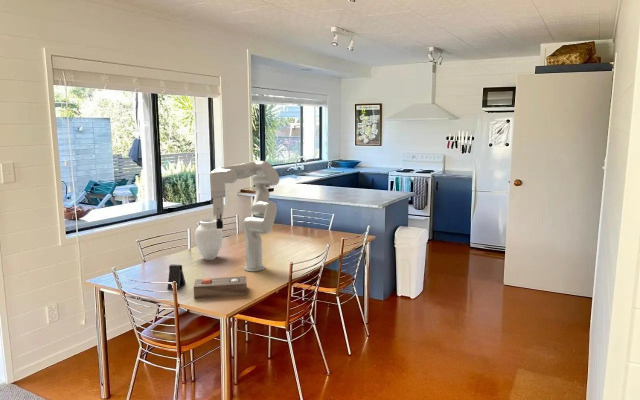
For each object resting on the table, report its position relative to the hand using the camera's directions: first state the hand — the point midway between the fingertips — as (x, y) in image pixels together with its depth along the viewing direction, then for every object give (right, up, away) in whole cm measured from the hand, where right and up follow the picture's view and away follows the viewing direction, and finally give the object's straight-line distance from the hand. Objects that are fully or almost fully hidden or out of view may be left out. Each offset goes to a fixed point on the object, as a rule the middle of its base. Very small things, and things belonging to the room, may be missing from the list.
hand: (219, 228), depth 247 cm
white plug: (+9, -32, -7) cm, 34 cm away
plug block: (+2, -33, -8) cm, 34 cm away
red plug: (-4, -31, -9) cm, 33 cm away
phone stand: (-24, -32, +2) cm, 39 cm away
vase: (-18, -23, +55) cm, 62 cm away
